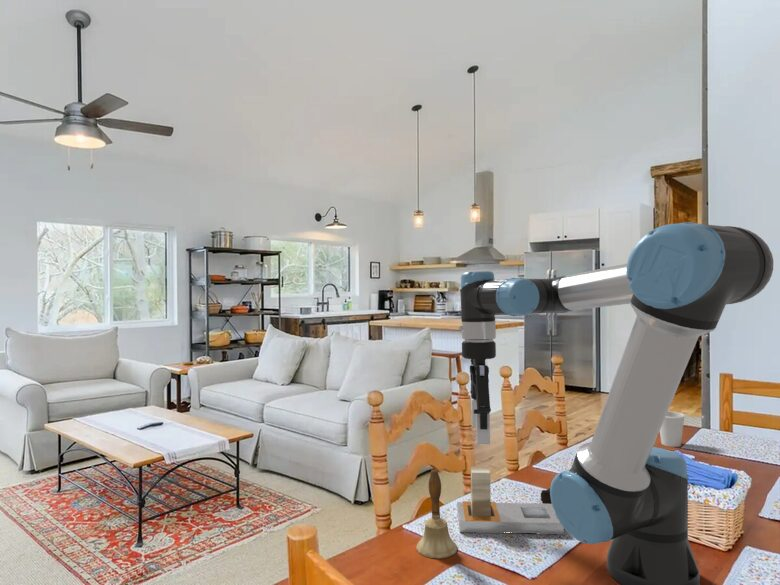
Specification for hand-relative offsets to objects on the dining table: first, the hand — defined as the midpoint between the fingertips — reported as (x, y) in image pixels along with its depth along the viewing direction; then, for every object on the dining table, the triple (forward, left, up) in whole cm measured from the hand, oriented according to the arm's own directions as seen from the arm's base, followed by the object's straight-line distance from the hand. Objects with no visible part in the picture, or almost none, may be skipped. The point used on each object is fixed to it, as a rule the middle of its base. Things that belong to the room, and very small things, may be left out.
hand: (480, 435), depth 117 cm
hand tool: (+18, -22, -20) cm, 35 cm away
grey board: (0, -6, -20) cm, 21 cm away
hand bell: (-12, +10, -20) cm, 25 cm away
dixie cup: (+61, -68, -20) cm, 94 cm away
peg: (0, 0, -20) cm, 20 cm away
